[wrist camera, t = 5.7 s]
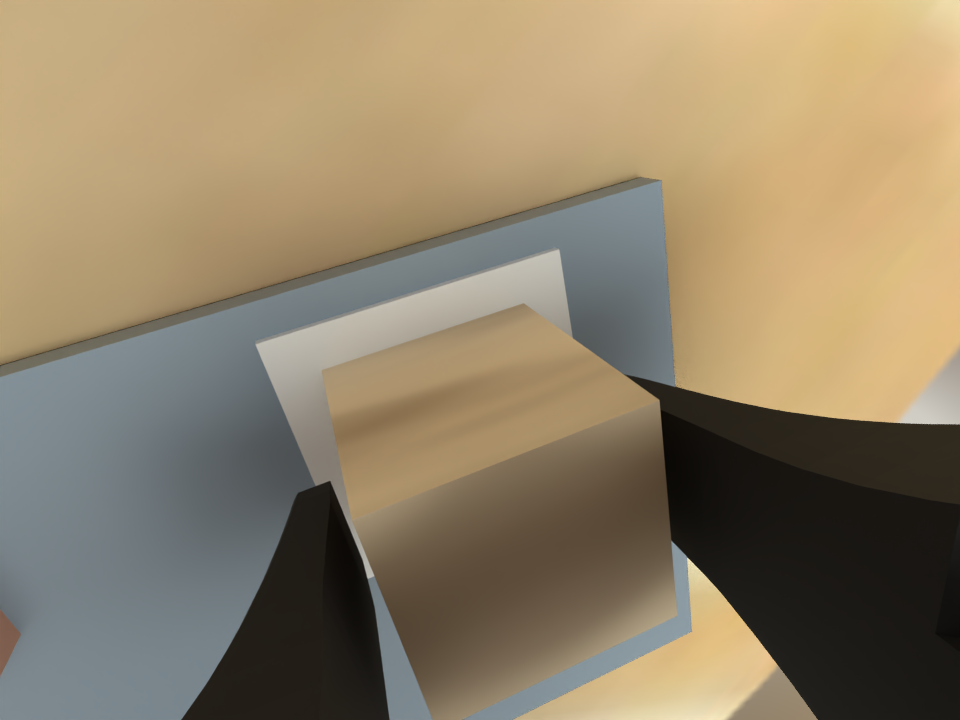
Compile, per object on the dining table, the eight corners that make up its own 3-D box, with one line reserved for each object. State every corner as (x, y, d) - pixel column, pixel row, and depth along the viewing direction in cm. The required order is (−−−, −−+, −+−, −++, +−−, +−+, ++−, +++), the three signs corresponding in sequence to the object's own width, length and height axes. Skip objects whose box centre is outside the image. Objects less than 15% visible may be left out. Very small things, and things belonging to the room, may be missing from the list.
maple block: (554, 466, 14) (677, 616, 10) (384, 535, 14) (437, 731, 9) (523, 303, 12) (659, 399, 8) (321, 369, 12) (352, 520, 7)
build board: (677, 613, 20) (695, 636, 19) (-18, 947, 15) (-36, 997, 15) (640, 177, 13) (666, 180, 13) (-584, 537, 9) (-678, 582, 8)
